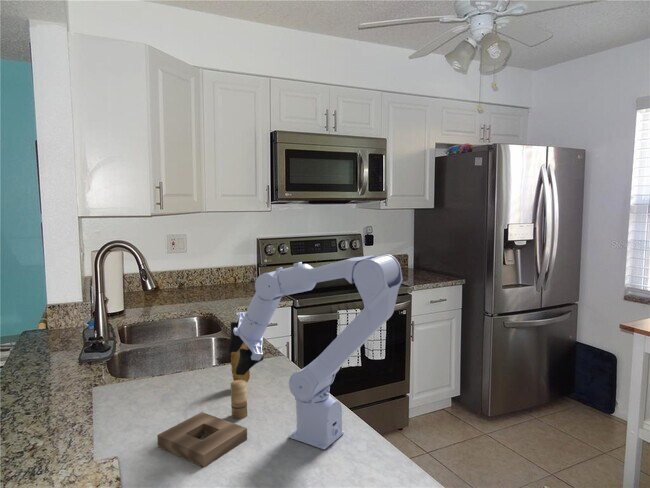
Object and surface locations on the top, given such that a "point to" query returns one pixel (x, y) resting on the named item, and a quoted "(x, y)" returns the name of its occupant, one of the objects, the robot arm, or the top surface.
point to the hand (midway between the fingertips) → (236, 362)
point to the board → (209, 449)
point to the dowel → (239, 399)
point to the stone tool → (234, 363)
